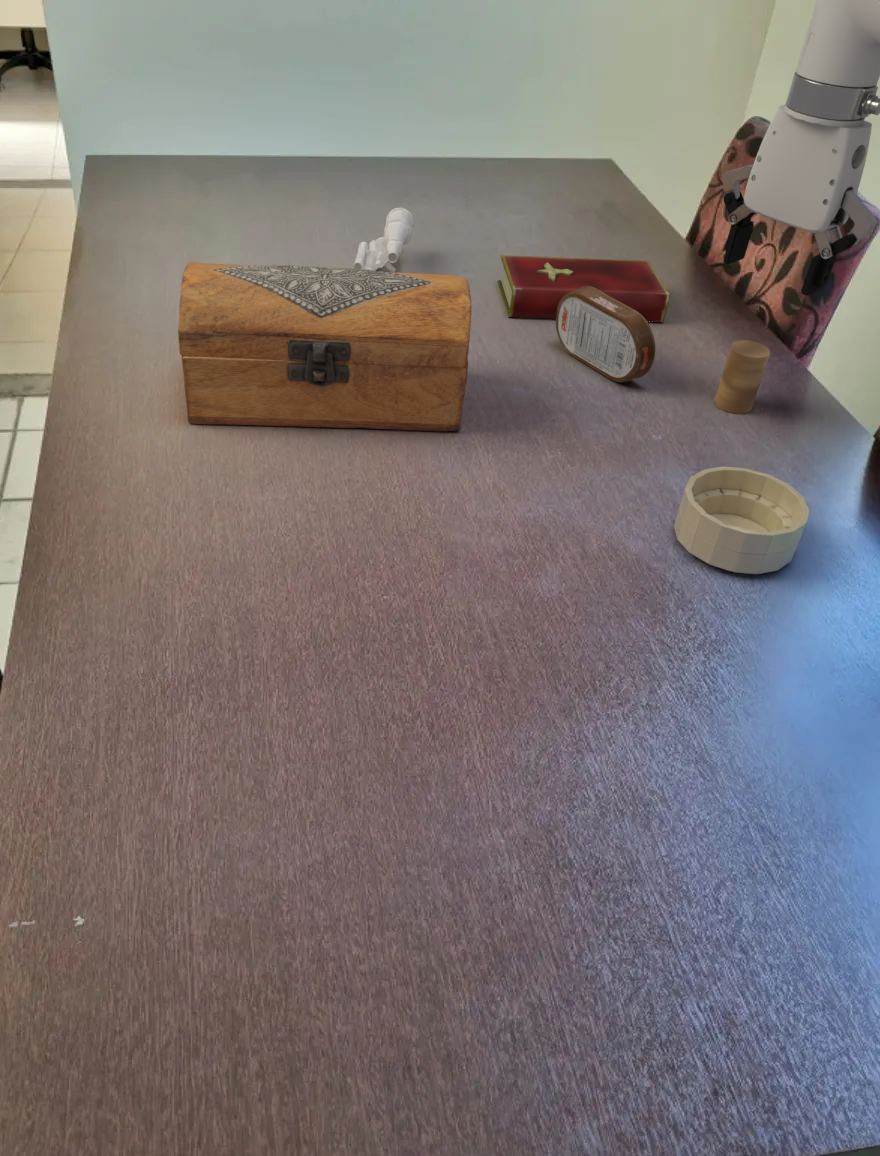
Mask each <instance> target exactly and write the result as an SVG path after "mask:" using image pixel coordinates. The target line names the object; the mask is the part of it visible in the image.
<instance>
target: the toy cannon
mask: <svg viewBox="0 0 880 1156" xmlns="http://www.w3.org/2000/svg"><path fill="white" fill-rule="evenodd" d="M414 226H415V219H414V216H413V214H412V213H411V212H410V211H409V210H408V209H407V208H404V207H396V208H393V209H391V210H390V211H389V212H388V214H387V216H386V218H385V225H384V228H383V236H380V237H377V238H376V239H373V240H371V241H369V244H368V243H367V242H366V241H360V242H359V243H358V250H357V252H356V253H357V254H356V257H355V258H354V263H353V265H352V269H364V270H376V271H378V269H382V268H383V267H384V268H385V269H386V270H387V271H388V272H396V268H395V267H394V265H392V264H393V263H396V262H397V261H398V260H399V257H400V256H401V255H402V254H403V252H404V247H405V246H406V245H408V243H410V241H411V238H412V233H413V229H414ZM365 257H366V261H365Z"/></svg>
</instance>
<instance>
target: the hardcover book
mask: <svg viewBox="0 0 880 1156" xmlns="http://www.w3.org/2000/svg"><path fill="white" fill-rule="evenodd" d="M500 260H501V263H502V271H501V279H498V280H497V284H498V283H499V285H498V288H499V287H500V288H499V292H500V291H501V292H500V295H501V294H502V295H501V298H502V297H503V298H502V301H503V300H504V302H503V305H504V304H505V305H504V307H506V308H505V311H506V310H507V311H506V314H508V315H507V317H520V318H519V319H534V318H544V319H543V320H546V319H545V318H549V319H548V320H556V314H557V308H558V304H559V302H560V300H561V299H562V298H563V297H564V296H565V295H566V294H568V293H570V292H572V291H575V290H578V289H579V288H582V287H585V286H590V287H594V288H596V289H598V290H599V291H601V292H603V293H605V294H606V295H608V296H610V297H612V298H613V299H615V300H617V301H619V302H621V303H623V304H624V305H626V306H628V307H630V308H632V309H634V310H635V311H637V312H639V313H640V314H641V315H642V316H643V317H644V318H645V319H646V321H650V322H649V323H652V321H653V322H663V323H664V321H665V318H666V316H667V315H666V314H667V311H668V307H669V302H670V296H671V295H670V294H671V293H670V292H669V291H668V289H667V288H666V286H665V285H664V283H663V282H662V281H663V280H662V279H661V278H660V277H659V275H658V273H657V272H656V270H655V268H654V267H653V265H652V263H651V262H650V260H644V259H643V260H642V259H618V258H617V259H615V258H591V257H590V258H589V257H563V256H541V255H539V256H538V255H537V256H536V255H513V254H511V255H510V254H501V256H500ZM554 318H555V319H554Z"/></svg>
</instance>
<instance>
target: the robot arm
mask: <svg viewBox="0 0 880 1156" xmlns="http://www.w3.org/2000/svg"><path fill="white" fill-rule="evenodd" d="M879 80H880V0H816V1H815V4H814V8H813V11H812V14H811V18H810V21H809V24H808V28H807V31H806V34H805V37H804V42H803V44H802V48H801V52H800V55H799V58H798V61H797V65H796V68H795V72H794V74H793V77H792V81H791V85H790V88H789V92H788V95H787V97H786V101H785V104H782V105H779V106H778V108H777V110H776V112H775V113H774V116H773V117H772V120H771V122H770V124H769V125H768V128H767V130H766V132H765V134H764V136H763V138H762V140H761V143H760V145H759V149H758V151H757V153H756V156H755V159H754V162H753V163H752V164H749V165H744V166H741V167H737V168H733V169H730V170H727V171H724V172H723V173H722V174H721V181H722V189H723V193H724V196H723V203H724V206H725V207H726V208H725V209H726V210H727V213H728V218H727V221H728V223H729V224H730V228H729V232H728V235H727V239H726V242H725V245H724V251H725V253H724V257H723V260H722V262H723V263H724V264H726V265H731V264H733V263H736V262H739V261H742V260H744V259H745V257H746V254H747V250H748V247H749V243H750V241H751V238H752V234H753V230H754V227H755V225H754V224H755V222H754V221H753V220H752V218H753V217H755V216H756V215H759V216H761V217H765V218H767V219H770V220H773V221H775V222H777V223H780V224H783V225H787V226H789V227H792V228H795V229H798V230H801V231H804V232H807V233H809V234H813V235H814V238H815V243H816V246H817V249H818V252H819V253H818V254H816V255H814V256H812V258H811V262H810V263H809V267H808V270H807V272H806V276H805V278H804V281H803V284H802V286H801V290H800V292H801V294H802V295H805V296H806V297H807V296H810V295H812V294H814V293H817V292H819V291H820V290H821V289H823V288H824V287H825V286H826V285H827V284H828V281H829V278H830V277H831V273H832V271H833V268H834V265H835V263H836V259H837V258H838V255H840V254H842V253H844V252H845V251H848V250H849V249H851V248H853V247H856V246H857V245H859V244H860V243H861V241H862V240H863V239H864V238H865V237H867V235H869V234H870V232H872V231H873V230H874V229H875V227H877V226H878V219H877V217H876V216H875V215H874V214H873V213H872V212H871V210H870V209H869V208H868V206H866V205H865V203H864V202H863V201H862V200H861V199H860V197H859V196H858V195H857V194H858V191H859V188H860V185H861V181H862V178H863V174H864V170H865V166H866V161H867V156H868V152H869V146H870V141H871V135H872V134H871V133H872V129H873V127H872V126H873V124H872V122H871V121H868V120H865V119H866V118H868V117H869V116H871V115H875V116H879V115H880V97H879V96H878V95H877V92H878V88H879V86H877V85H878V83H879ZM744 180H747V183H746V186H745V190H744V194H742V192H741V191H740V187H741V185H740V184H741V182H742V181H744ZM743 195H744V196H743ZM849 218H850V220H851V221H852V222H853V228H852V229H850V231H849V232H848V233H847V234H846V235H844V236H843V234H842V231H841V226H843V225H845V224H846V223H847V221H848V219H849Z"/></svg>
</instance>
